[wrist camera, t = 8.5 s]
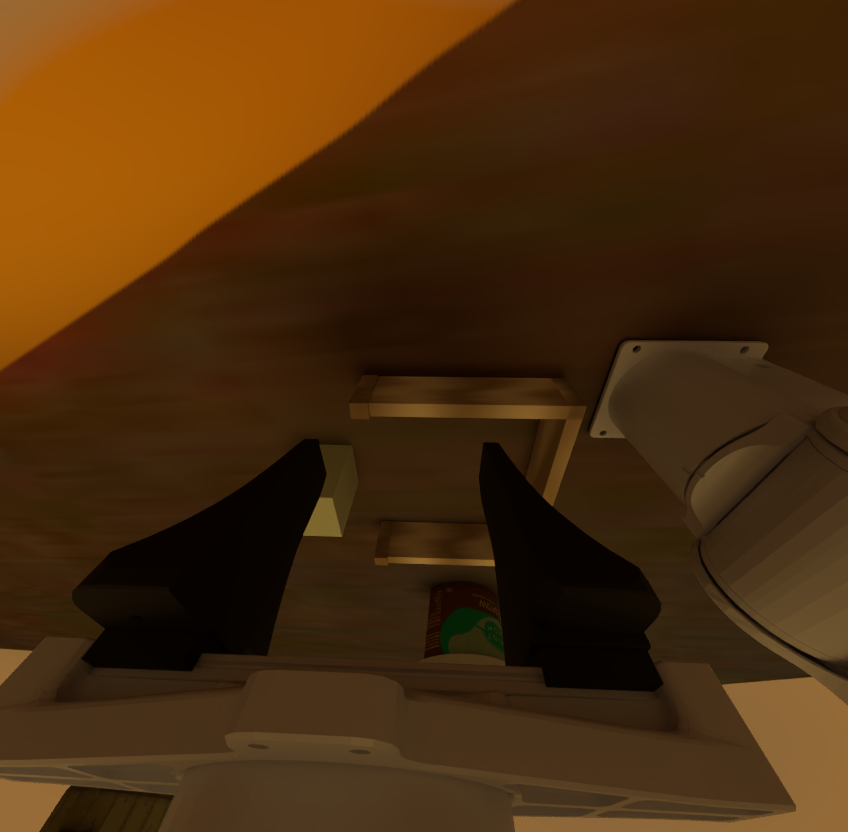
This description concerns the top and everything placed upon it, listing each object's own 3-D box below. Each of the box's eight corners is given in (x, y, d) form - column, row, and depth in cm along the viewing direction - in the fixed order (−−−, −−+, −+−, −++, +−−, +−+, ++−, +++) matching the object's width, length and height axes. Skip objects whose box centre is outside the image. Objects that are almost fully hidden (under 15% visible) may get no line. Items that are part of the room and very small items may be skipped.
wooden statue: (228, 605, 44) (-198, 1394, 14) (189, 559, 37) (-734, 1817, 8) (287, 606, 43) (-32, 1428, 14) (257, 558, 37) (-465, 1916, 7)
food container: (524, 598, 40) (547, 699, 31) (491, 614, 42) (505, 711, 34) (451, 564, 36) (456, 669, 27) (421, 585, 39) (417, 685, 30)
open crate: (564, 377, 22) (588, 406, 18) (521, 531, 32) (531, 569, 28) (362, 374, 22) (348, 403, 19) (382, 527, 32) (375, 564, 29)
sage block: (352, 445, 26) (332, 497, 21) (358, 481, 29) (341, 536, 24) (301, 444, 26) (270, 496, 21) (312, 480, 29) (286, 535, 24)
